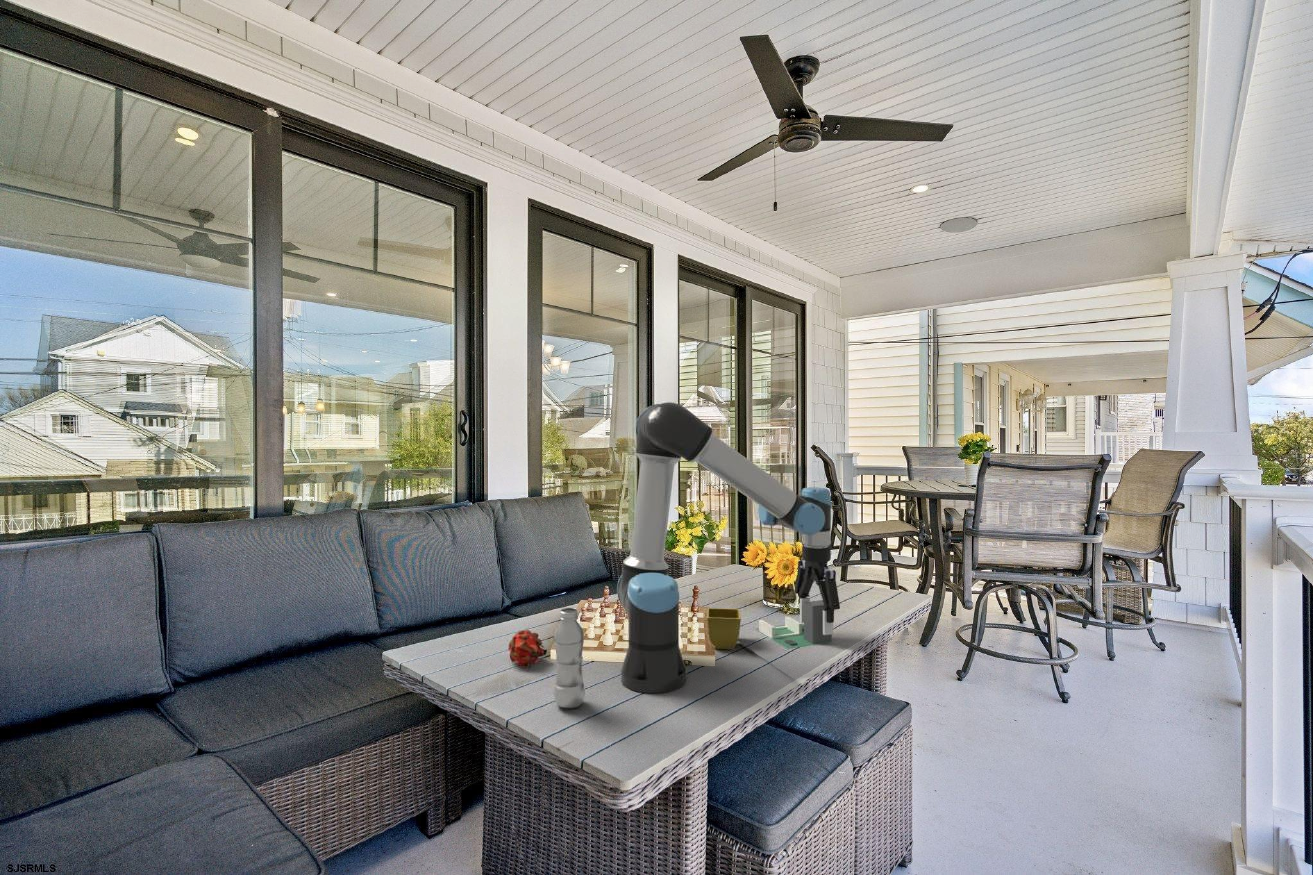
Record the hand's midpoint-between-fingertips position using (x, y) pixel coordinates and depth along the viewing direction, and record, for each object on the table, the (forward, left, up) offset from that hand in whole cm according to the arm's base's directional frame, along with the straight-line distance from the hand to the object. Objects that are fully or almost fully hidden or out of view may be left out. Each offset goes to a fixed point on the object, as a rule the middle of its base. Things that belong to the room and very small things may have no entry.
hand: (816, 627), depth 164 cm
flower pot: (-24, +7, -5) cm, 25 cm away
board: (-4, +5, -4) cm, 8 cm away
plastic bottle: (-70, -13, -5) cm, 71 cm away
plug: (0, -1, -3) cm, 3 cm away
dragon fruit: (-75, +14, -5) cm, 77 cm away
